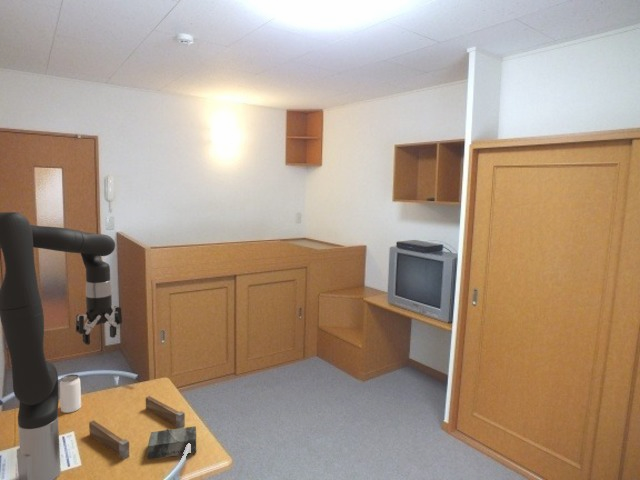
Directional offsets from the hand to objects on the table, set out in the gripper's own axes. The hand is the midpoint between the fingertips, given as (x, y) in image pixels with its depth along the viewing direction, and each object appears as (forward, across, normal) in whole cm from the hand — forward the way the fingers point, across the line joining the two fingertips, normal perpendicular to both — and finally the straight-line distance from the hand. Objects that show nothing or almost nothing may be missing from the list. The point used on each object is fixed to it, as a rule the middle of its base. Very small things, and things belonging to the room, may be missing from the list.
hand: (100, 340), depth 141 cm
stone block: (+31, +7, -30) cm, 43 cm away
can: (+30, -2, +18) cm, 35 cm away
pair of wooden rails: (+30, +5, -13) cm, 33 cm away
